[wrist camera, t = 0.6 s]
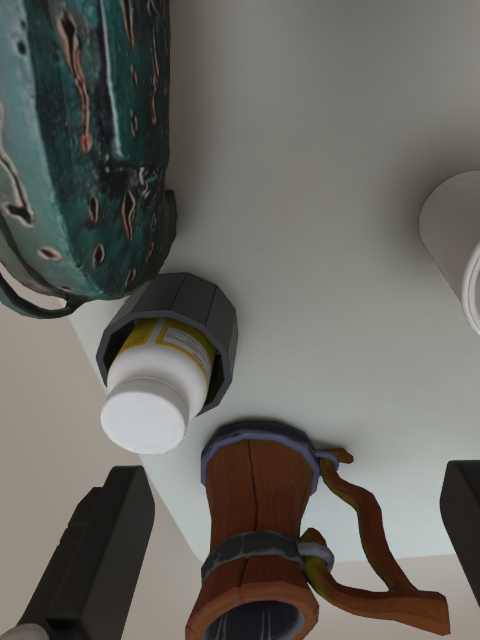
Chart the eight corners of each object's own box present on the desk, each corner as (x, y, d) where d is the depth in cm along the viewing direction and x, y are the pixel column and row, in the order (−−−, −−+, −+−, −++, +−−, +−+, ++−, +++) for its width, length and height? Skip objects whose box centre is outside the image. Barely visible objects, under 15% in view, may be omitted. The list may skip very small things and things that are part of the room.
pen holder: (115, 276, 28) (80, 314, 23) (230, 269, 28) (222, 306, 22) (140, 371, 33) (116, 421, 27) (242, 367, 32) (236, 418, 27)
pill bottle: (149, 356, 32) (98, 464, 22) (137, 289, 29) (71, 380, 19) (223, 356, 31) (203, 466, 22) (217, 288, 28) (192, 380, 19)
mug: (386, 396, 32) (466, 592, 19) (391, 485, 38) (457, 685, 25) (186, 423, 35) (138, 607, 22) (217, 501, 41) (194, 687, 28)
